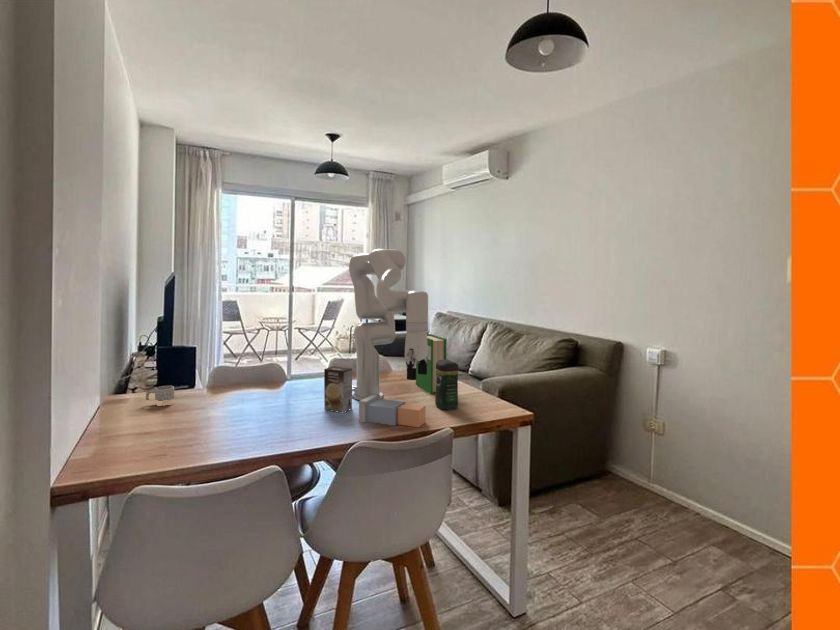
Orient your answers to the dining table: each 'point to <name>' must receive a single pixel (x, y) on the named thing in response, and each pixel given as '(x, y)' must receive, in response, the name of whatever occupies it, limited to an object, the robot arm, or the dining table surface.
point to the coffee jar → (446, 384)
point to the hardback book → (432, 362)
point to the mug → (162, 393)
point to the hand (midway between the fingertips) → (417, 376)
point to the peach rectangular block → (411, 415)
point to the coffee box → (338, 388)
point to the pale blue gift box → (379, 410)
